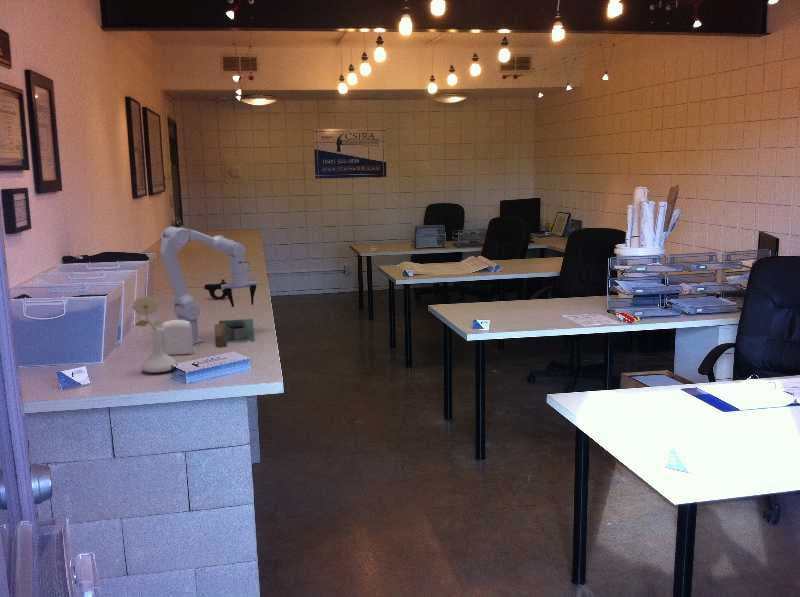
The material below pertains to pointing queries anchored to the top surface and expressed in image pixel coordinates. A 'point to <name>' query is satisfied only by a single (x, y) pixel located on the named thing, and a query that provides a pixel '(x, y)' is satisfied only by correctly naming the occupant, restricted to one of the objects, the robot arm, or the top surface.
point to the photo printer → (177, 337)
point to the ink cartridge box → (248, 271)
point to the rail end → (220, 335)
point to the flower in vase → (158, 358)
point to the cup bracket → (239, 330)
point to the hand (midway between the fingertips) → (242, 305)
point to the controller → (214, 287)
